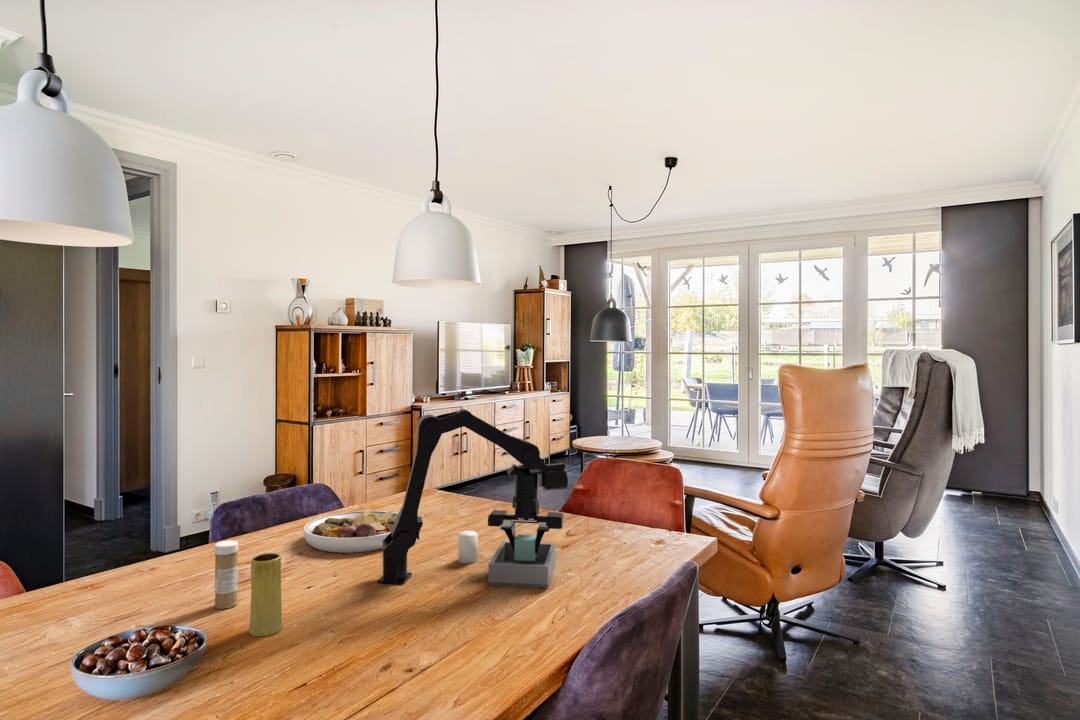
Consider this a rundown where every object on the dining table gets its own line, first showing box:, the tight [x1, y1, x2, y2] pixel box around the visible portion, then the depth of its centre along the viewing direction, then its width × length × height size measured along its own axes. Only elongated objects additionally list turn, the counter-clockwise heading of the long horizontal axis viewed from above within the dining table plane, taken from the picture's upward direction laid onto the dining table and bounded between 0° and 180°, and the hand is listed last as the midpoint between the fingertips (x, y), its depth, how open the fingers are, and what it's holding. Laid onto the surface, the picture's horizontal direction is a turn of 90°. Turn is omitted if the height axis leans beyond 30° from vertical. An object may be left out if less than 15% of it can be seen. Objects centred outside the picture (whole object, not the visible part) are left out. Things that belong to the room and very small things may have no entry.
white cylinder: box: [457, 530, 479, 564], centre depth 163 cm, size 5×5×7 cm
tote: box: [487, 540, 557, 588], centre depth 153 cm, size 18×14×5 cm
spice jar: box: [213, 539, 239, 610], centre depth 132 cm, size 5×5×14 cm
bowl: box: [302, 510, 399, 554], centre depth 181 cm, size 30×30×8 cm
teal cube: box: [514, 533, 537, 561], centre depth 157 cm, size 5×5×5 cm
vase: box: [248, 552, 284, 637], centre depth 120 cm, size 6×6×14 cm
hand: (525, 553), depth 157 cm, fingers closed on teal cube, 5 cm apart
